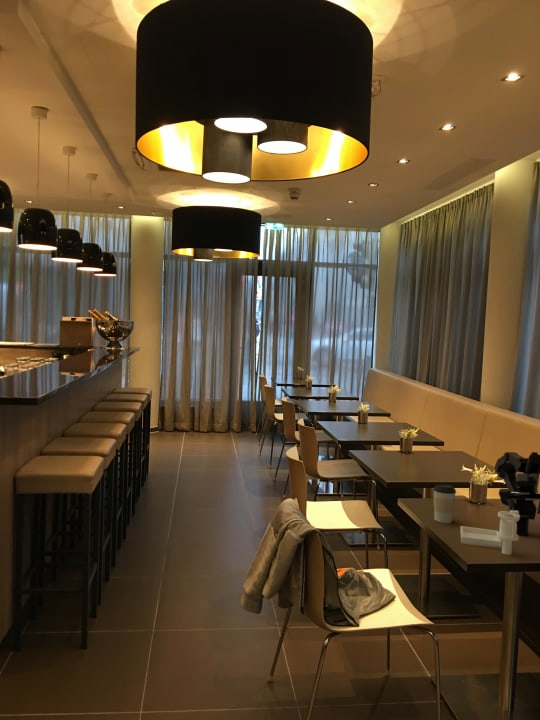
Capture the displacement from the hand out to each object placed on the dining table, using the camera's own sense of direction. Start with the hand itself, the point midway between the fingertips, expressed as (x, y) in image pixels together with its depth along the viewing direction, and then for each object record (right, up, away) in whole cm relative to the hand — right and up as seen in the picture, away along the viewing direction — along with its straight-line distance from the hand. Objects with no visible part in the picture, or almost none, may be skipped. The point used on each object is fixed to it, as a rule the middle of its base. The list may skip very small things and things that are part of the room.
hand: (524, 512), depth 206 cm
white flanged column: (-7, -14, -2) cm, 16 cm away
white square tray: (-12, -13, +11) cm, 21 cm away
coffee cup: (-19, -12, +34) cm, 40 cm away
